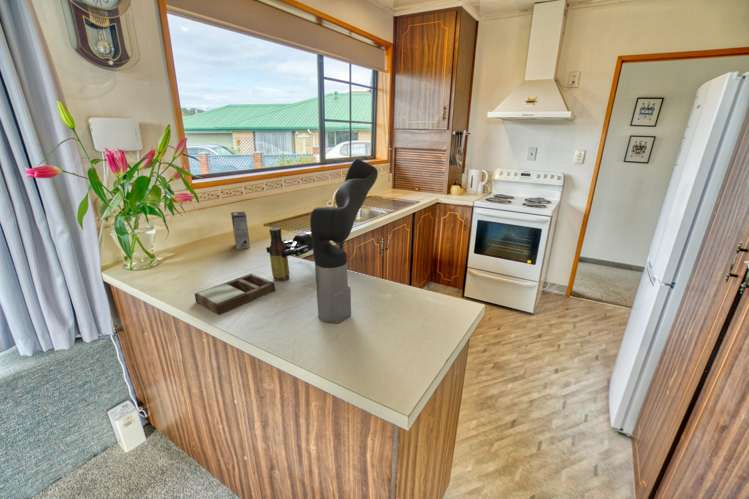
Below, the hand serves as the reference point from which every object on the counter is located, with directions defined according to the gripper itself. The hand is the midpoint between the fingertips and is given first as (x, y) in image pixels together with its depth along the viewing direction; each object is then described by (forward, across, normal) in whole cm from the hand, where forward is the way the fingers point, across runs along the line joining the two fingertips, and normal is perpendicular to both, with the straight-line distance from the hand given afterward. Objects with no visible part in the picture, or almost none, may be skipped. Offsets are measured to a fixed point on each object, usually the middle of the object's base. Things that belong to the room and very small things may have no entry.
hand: (274, 252), depth 125 cm
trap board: (+17, 0, +11) cm, 20 cm away
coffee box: (-16, -47, +11) cm, 51 cm away
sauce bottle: (-2, 0, +11) cm, 11 cm away
